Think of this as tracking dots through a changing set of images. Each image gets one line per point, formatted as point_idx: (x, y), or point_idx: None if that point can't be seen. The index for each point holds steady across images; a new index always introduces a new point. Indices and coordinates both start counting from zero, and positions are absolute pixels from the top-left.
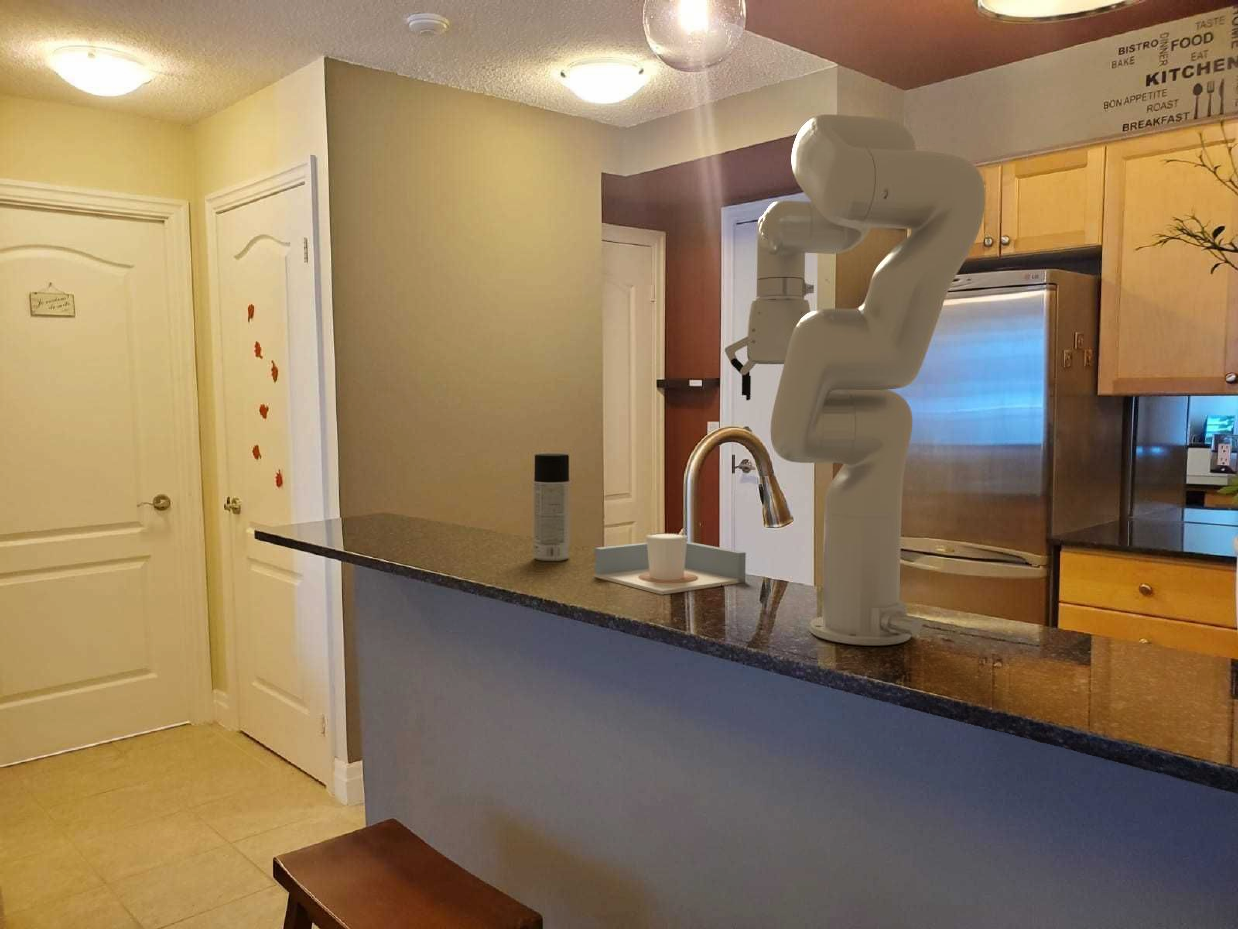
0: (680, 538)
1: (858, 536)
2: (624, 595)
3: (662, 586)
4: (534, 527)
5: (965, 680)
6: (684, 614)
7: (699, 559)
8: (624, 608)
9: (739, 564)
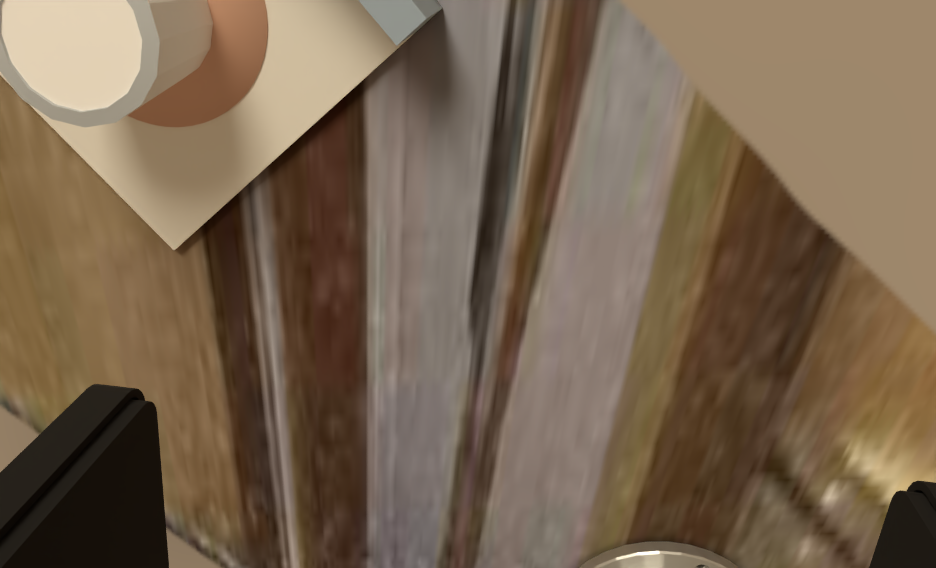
0: (139, 105)
1: None
2: (75, 258)
3: (165, 183)
4: None
5: None
6: (268, 465)
7: None
8: None
9: (408, 36)
